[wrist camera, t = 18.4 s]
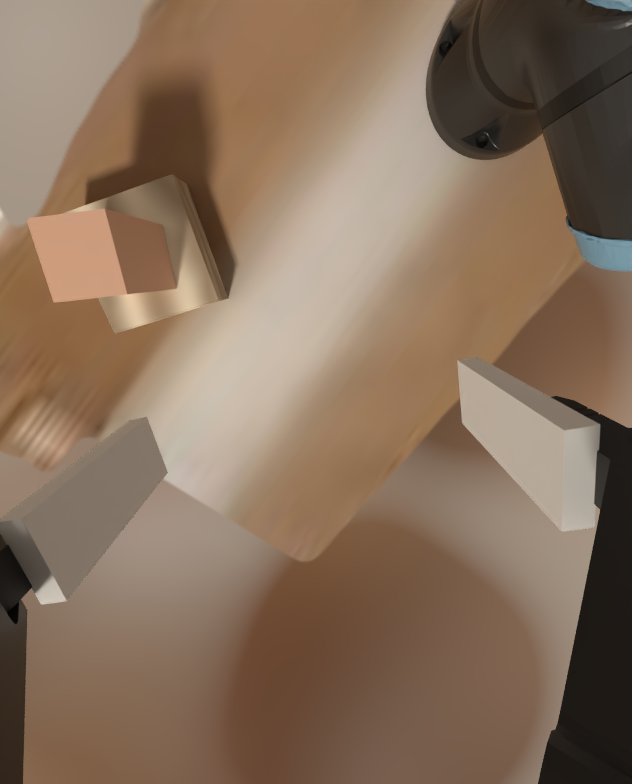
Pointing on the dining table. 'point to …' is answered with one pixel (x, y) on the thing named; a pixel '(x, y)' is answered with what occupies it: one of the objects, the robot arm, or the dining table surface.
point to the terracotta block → (101, 254)
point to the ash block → (186, 251)
